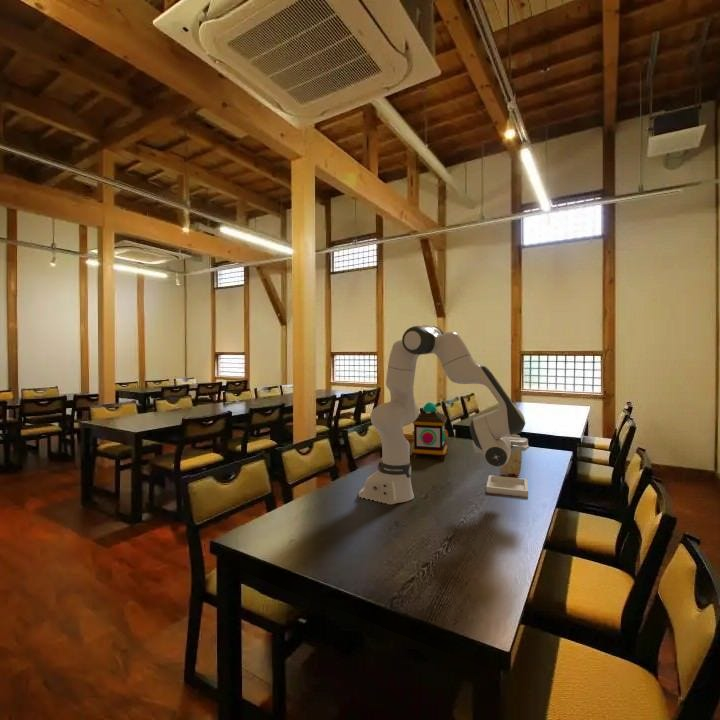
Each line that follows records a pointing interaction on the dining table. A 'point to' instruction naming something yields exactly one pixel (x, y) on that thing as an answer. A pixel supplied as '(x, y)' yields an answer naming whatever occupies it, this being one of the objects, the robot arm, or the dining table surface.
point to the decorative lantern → (430, 433)
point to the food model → (512, 463)
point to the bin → (507, 486)
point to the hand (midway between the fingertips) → (500, 437)
